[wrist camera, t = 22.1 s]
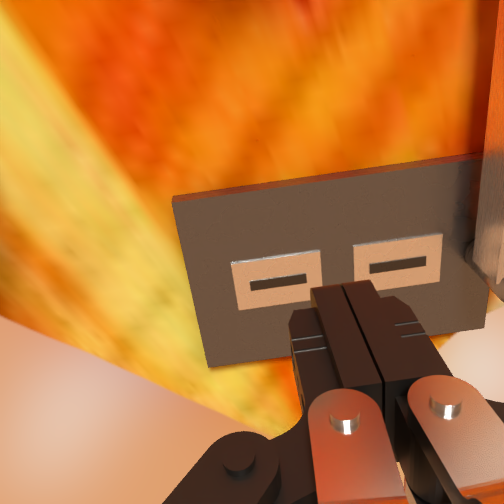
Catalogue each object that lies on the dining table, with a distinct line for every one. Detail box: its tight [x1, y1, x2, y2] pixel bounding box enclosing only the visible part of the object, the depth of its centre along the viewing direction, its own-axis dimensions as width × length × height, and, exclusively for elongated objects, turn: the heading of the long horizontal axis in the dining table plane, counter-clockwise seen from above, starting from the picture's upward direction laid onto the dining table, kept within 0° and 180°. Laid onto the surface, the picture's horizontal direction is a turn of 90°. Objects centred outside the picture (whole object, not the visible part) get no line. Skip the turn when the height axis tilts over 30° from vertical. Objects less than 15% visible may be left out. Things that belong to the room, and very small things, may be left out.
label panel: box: [172, 152, 489, 368], centre depth 45 cm, size 28×18×2 cm, turn 97°
